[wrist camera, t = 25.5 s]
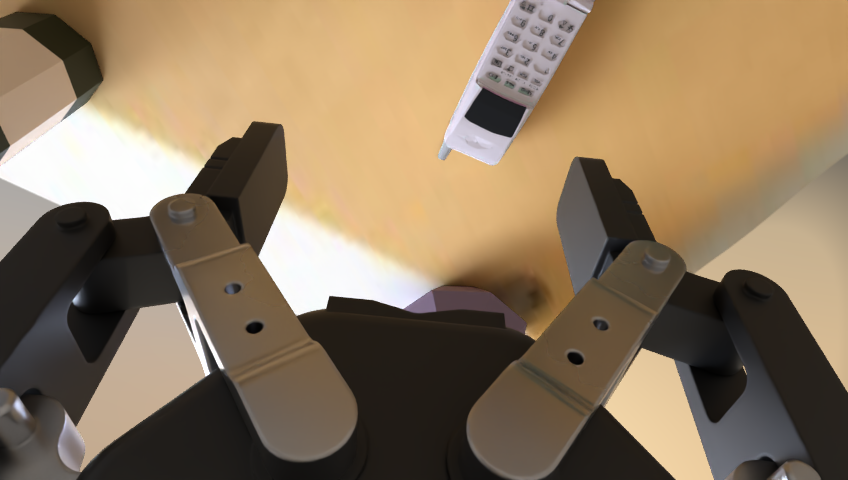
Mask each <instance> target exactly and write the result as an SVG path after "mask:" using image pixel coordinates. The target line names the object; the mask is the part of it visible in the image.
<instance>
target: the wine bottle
mask: <svg viewBox="0 0 848 480" xmlns="http://www.w3.org/2000/svg"><path fill="white" fill-rule="evenodd" d="M102 81H103V78H102V75H101V72H100V69H99V66H98V63H97V60H96V57H95V54H94V51H93V48H92V45H91V44H90V43H89V42H88V41H87V40H85V39H84V38H83V37H82V36H81V35H79V34H78V33H77V32H76V31H74V30H73V29H72V28H71V27H69V26H68V25H67V24H66V23H64V22H63V21H62V20H61V19H59V18H58V17H57V16H56V15H54V14H39V13H24V12H15V13H12V14H10V15H8V16H5V17H3V18H0V166H1V165H3V164H4V163H6V162H7V161H8V160H10V159H11V158H12V157H14V156H15V155H16V154H18V153H19V152H20V151H22V150H23V149H24V148H26V147H27V146H29V145H30V144H31V143H33V142H34V141H35V140H37V139H38V138H39V137H41V136H42V135H43V134H45V133H46V132H48V131H49V130H50V129H52V128H53V127H54V126H56V125H57V124H58V123H60V122H61V121H62V120H64V119H65V118H66V117H68V116H69V115H71V114H72V113H73V112H75V111H76V110H77V109H79V108H80V107H81V106H83V105H84V104H85V103H87V102H88V100H89V99H90V98H91V96H92V95H93V93H94V92H95V91H96V89H97V88H98V87H99V85H100V84H101V83H102Z"/></svg>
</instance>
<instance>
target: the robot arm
mask: <svg viewBox="0 0 848 480" xmlns="http://www.w3.org/2000/svg"><path fill="white" fill-rule="evenodd" d="M287 181H288V173H287V161H286V149H285V137H284V129H283V126H282V125H281V124H274V123H264V122H255V121H254V122H252V123H251V125H250V126H249V128H248V129H247V131H246V133H245V134H244V136H243V137H242V138H235V137H232V138H231V139H229V140H227V141H226V142H224V143H222V144H221V145H219V146H218V147H217V148H216V150H215V151H214V153H213V154H212V156H211V159H209V160H208V161H207V163H206V164H205V167H204V168H202V170H201V171H200V173H199V174H198V176H197V177H196V178H195V180H194V181H193V183H192V184H191V186H190V187H189V188H188V190H187V191H186V193H185V194H179V195H174V196H171V197H168V198H165V199H163V200H161V201H160V202H158V203H157V204H156V205H155V206H154V207H153V208H152V209H151V211H150V216H147V217H140V218H130V219H120V220H112V219H111V216H110V214H109V211H108V210H107V208H106V207H104V206H103V205H100V204H97V203H92V202H76V203H70V204H66V205H62V206H59V207H57V208H54V209H52V210H50V211H49V212H47V213H46V214H44V215H43V216H42V217H41V218H39V220H38V221H37V222H36V223H35V224H34V225H33V226H32V227H31V228H30V229H29V231H28V232H27V233H26V234H25V235H24V236H23V237H22V239H20V241H19V242H18V243H17V244H16V245H15V246H14V247H13V248H12V249H11V251H10V252H9V253H8V254H7V255H6V256H5V257H4V258H3V259H2V260H1V262H0V480H675V479H674V478H673V477H672V475H671V474H670V473H669V472H668V471H666V470H665V468H664V467H662V465H661V464H659V462H658V461H657V460H656V459H655V458H654V457H653V456H652V455H651V454H650V453H649V452H648V451H647V450H646V449H645V448H644V447H643V446H642V445H641V444H640V443H639V442H638V441H637V440H636V439H635V438H634V437H633V436H632V435H631V434H630V433H629V432H628V431H627V430H626V429H625V428H624V427H623V426H622V425H621V424H620V423H619V422H618V421H617V420H616V419H615V418H614V417H613V416H612V415H611V414H610V413H609V412H608V411H607V410H606V409H605V408H604V407H605V406H606V404H607V402H608V401H609V399H610V397H611V396H612V394H613V393H614V391H615V389H616V388H617V386H618V385H619V383H620V382H621V380H622V378H623V377H624V375H625V374H626V372H627V371H628V369H629V367H630V366H631V364H632V363H633V361H634V360H635V358H636V357H637V355H638V353H639V352H640V350H641V349H642V348H644V349H646V350H649V351H652V352H655V353H658V354H660V355H663V356H666V357H669V358H672V359H674V360H675V364H676V367H677V370H678V373H679V376H680V379H681V382H682V385H683V387H684V391H685V394H686V397H687V400H688V403H689V406H690V409H691V412H692V415H693V418H694V421H695V423H696V426H697V430H698V433H699V436H700V439H701V442H702V445H703V448H704V450H705V454H706V457H707V460H708V462H709V466H710V469H711V472H712V475H713V477H714V480H848V392H847V391H846V389H845V387H844V386H843V384H842V383H841V381H840V379H839V378H838V376H837V375H836V373H835V371H834V370H833V368H832V366H831V365H830V363H829V362H828V360H827V358H826V357H825V355H824V353H823V352H822V350H821V349H820V347H819V345H818V344H817V342H816V341H815V339H814V337H813V336H812V334H811V333H810V331H809V329H808V328H807V326H806V324H805V323H804V321H803V319H802V318H801V316H800V315H799V313H798V311H797V310H796V308H795V307H794V305H793V303H792V302H791V300H790V298H789V297H788V295H787V294H786V292H785V291H784V290H783V289H782V288H781V287H780V286H779V285H778V284H776V283H775V282H773V281H772V280H770V279H769V278H767V277H765V276H763V275H761V274H758V273H755V272H752V271H748V270H732V271H729V272H728V273H726V275H725V276H724V278H723V279H722V281H721V282H717V281H714V280H710V279H707V278H704V277H701V276H698V275H695V274H692V273H689V272H687V271H686V264H685V262H684V260H683V259H682V258H681V257H680V256H679V254H677V253H676V252H675V251H674V250H672V249H671V248H669V247H667V246H665V245H663V244H660V243H657V242H656V240H655V238H654V236H653V234H652V231H651V229H650V227H649V225H648V223H647V221H646V219H645V217H644V215H642V210H641V208H640V206H639V205H637V203H638V202H637V200H636V198H635V196H634V194H633V192H632V190H631V189H630V188H629V187H628V186H627V185H625V184H624V183H623V182H622V181H621V180H620V179H614V178H612V177H611V175H610V173H609V170H608V168H607V166H606V163H605V161H604V160H602V159H593V158H584V157H575V158H574V159H573V161H572V163H571V166H570V169H569V172H568V175H567V178H566V181H565V184H564V188H563V191H562V194H561V197H560V200H559V203H558V208H557V226H558V230H559V234H560V238H561V242H562V246H563V250H564V254H565V258H566V262H567V266H568V269H569V273H570V277H571V281H572V285H573V289H574V293H575V297H574V298H573V299H572V300H571V301H570V303H569V304H568V305H567V306H566V307H565V308H564V309H563V311H562V312H561V313H560V314H559V315H558V316H557V317H556V319H555V320H554V321H553V322H552V323H551V324H550V325H549V327H548V328H547V329H546V330H545V331H544V332H543V333H542V335H541V336H540V337H539V338H538V339H537V340H536V341H535V340H534V339H532V338H531V337H529V336H527V335H525V334H523V333H521V332H519V331H517V330H514V329H512V328H509V327H506V325H505V316H504V313H498V312H488V311H477V310H467V309H456V310H447V311H437V312H427V313H413V312H410V311H407V310H403V309H400V308H397V307H393V306H390V305H387V304H383V303H380V302H377V301H374V300H365V299H355V298H344V297H334V296H329V300H328V304H327V308H326V309H322V310H316V311H311V312H307V313H304V314H301V315H298V316H296V315H295V314H294V312H293V310H292V309H291V307H290V306H289V304H288V303H287V301H286V300H285V298H284V296H283V295H282V293H281V292H280V290H279V289H278V287H277V286H276V284H275V282H274V281H273V279H272V278H271V276H270V275H269V273H268V271H267V270H266V268H265V267H264V265H263V264H262V262H261V261H260V259H259V257H258V256H259V254H260V251H261V249H262V247H263V244H264V242H265V240H266V237H267V235H268V233H269V231H270V228H271V226H272V224H273V221H274V219H275V217H276V215H277V212H278V210H279V208H280V205H281V203H282V201H283V199H284V196H285V193H286V189H287ZM170 303H176V305H177V307H178V310H179V312H180V314H181V316H182V319H183V321H184V323H185V325H186V328H187V330H188V332H189V335H190V337H191V339H192V342H193V344H194V346H195V348H196V351H197V353H198V355H199V357H200V360H201V363H202V365H203V368H204V371H205V374H206V377H204V378H203V379H201V380H200V381H199V382H197V383H196V384H194V385H193V386H192V387H190V388H189V389H187V390H186V391H184V392H183V393H182V394H180V395H179V396H177V397H176V398H174V399H173V400H172V401H170V402H169V403H167V404H166V405H164V406H163V407H162V408H160V409H159V410H157V411H156V412H155V413H153V414H152V415H151V416H149V417H148V418H146V419H145V420H143V421H142V422H140V423H139V424H137V425H136V426H135V427H134V428H132V429H130V430H129V431H128V432H126V433H125V434H123V435H122V436H121V437H119V438H118V439H116V440H115V441H113V442H112V443H111V444H110V445H108V446H107V447H106V448H104V449H103V450H102V451H101V452H100V453H99V454H98V455H97V456H96V457H95V458H94V459H93V460H92V461H90V463H89V464H88V465H87V466H86V467H85V469H84V470H83V471H82V472H80V467H81V464H82V461H83V458H84V454H85V444H84V440H83V438H82V437H81V435H80V433H79V432H78V430H77V429H76V426H77V424H78V422H79V420H80V419H81V417H82V415H83V413H84V411H85V409H86V408H87V406H88V404H89V402H90V400H91V398H92V396H93V395H94V393H95V391H96V389H97V387H98V385H99V383H100V382H101V380H102V378H103V376H104V374H105V372H106V371H107V369H108V367H109V365H110V363H111V361H112V359H113V357H114V356H115V354H116V352H117V350H118V348H119V346H120V345H121V343H122V341H123V339H124V337H125V335H126V334H127V332H128V330H129V328H130V326H131V324H132V322H133V321H134V319H135V317H136V315H137V313H138V311H139V309H140V308H142V307H149V306H156V305H163V304H170ZM743 365H744V367H745V370H746V373H747V375H746V373H745V371H744V369H743Z"/></svg>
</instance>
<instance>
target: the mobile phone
mask: <svg viewBox="0 0 848 480" xmlns="http://www.w3.org/2000/svg"><path fill="white" fill-rule="evenodd" d="M594 1H595V0H511V1H510V3H509V5H508V6H507V8H506V10H505V12H504V14H503V16H502V17H501V19H500V21H499V23H498V25H497V27H496V29H495V30H494V32H493V34H492V36H491V38H490V40H489V42H488V44H487V46H486V48H485V50H484V52H483V54H482V56H481V58H480V60H479V62H478V64H477V65H476V67H475V69H474V71H473V73H472V75H471V78H470V80H469V82H468V84H467V86H466V88H465V90H464V93H463V95H462V97H461V99H460V101H459V103H458V105H457V108H456V110H455V112H454V114H453V116H452V118H451V120H450V124H449V126H448V128H447V130H446V132H445V137H444V141H443V144H442V147H441V149H440V152H439V154H438V158H439V159H441V160H445V159H446V157H447V156H448V154H449V153H450V151H451V150H452V149H454V150H456V151H459V152H461V153H463V154H466V155H468V156H470V157H473V158H475V159H478V160H480V161H482V162H485V163H487V164H489V165H496V164H497V163H498V162H499V161H500V159H501V158H502V157H503V155H504V154H505V152H506V151H507V149H508V148H509V146H510V145H511V143H512V142H513V140H514V139H515V137H516V136H517V134H518V133H519V131H520V130H521V128H522V126H523V125H524V123H525V122H526V120H527V118H528V117H529V115H530V114H531V112H532V110H533V109H534V107H535V105H536V104H537V102H538V100H539V99H540V97H541V95H542V94H543V92H544V90H545V89H546V87H547V85H548V84H549V82H550V80H551V79H552V77H553V75H554V73H555V71H556V70H557V68H558V66H559V64H560V63H561V61H562V59H563V57H564V55H565V54H566V52H567V50H568V48H569V47H570V45H571V43H572V41H573V39H574V38H575V36H576V34H577V32H578V31H579V29H580V27H581V25H582V23H583V22H584V20H585V18H586V16H587V14H588V13H589V12H590V11H591V10H592V7H593V2H594Z"/></svg>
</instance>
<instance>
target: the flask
mask: <svg viewBox="0 0 848 480" xmlns="http://www.w3.org/2000/svg"><path fill="white" fill-rule="evenodd" d="M456 309H467V310H477V311H488V312H498V313H504V316H505V325H506V327H509V328H512V329H514V330H517V331H519V332H521V333H523V334H525V330H526V325H527V323H526V322H525V321H524V320H523V319H522V318H520V317H519V316H518V315H517V314H516V313H515V312H513V311H512V310H511V309H510V308H509V307H507V306H506V305H505V304H504V303H503V302H502V301H500V300H499V299H498V298H497V297H496V296H494V295H493V294H492V293H491V292H488V291H485V290H482V289H479V288H476V287H464V286H441V287H439V288H436V289H434V290H431V291H430V292H428V293H427V294H425V295H424V296H422V297H421V298H419V299H418V300H416V301H415V302H413V303H412V304H410V305H409V306H407V307H406V308H404V309H403V310H407V311H410V312H413V313H427V312H437V311H447V310H456Z"/></svg>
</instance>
